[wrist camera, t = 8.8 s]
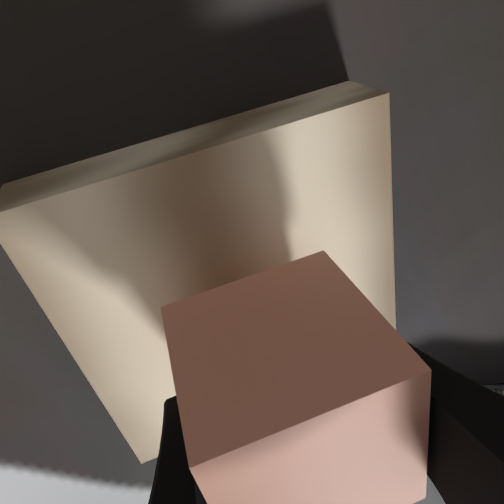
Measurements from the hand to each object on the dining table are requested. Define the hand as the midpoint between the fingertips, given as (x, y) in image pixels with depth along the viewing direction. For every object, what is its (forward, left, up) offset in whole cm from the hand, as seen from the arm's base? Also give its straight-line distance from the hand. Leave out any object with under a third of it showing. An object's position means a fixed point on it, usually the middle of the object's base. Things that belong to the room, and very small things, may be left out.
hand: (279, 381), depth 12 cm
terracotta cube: (0, 0, -2) cm, 2 cm away
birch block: (0, 0, -7) cm, 7 cm away
